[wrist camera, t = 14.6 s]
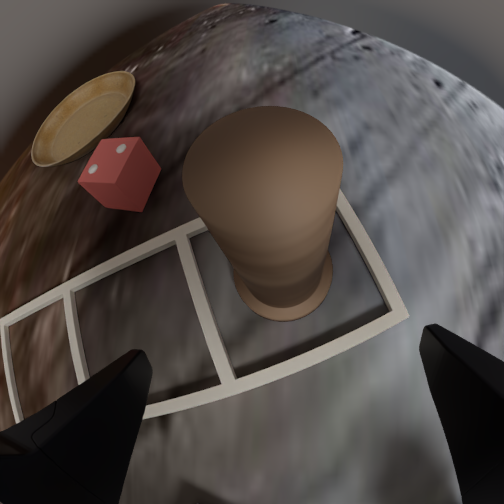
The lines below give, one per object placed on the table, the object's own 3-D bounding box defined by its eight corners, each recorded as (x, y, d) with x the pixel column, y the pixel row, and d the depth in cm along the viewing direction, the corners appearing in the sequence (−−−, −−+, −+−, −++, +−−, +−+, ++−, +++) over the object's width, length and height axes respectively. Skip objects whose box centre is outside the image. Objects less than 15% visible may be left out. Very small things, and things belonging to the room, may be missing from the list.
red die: (161, 168, 22) (139, 135, 18) (142, 212, 21) (114, 182, 17) (124, 167, 23) (100, 138, 19) (105, 207, 22) (76, 181, 18)
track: (325, 171, 19) (325, 166, 19) (406, 318, 15) (409, 316, 14) (4, 320, 20) (-1, 319, 19) (23, 433, 15) (19, 433, 15)
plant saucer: (134, 71, 30) (126, 57, 28) (155, 125, 25) (144, 106, 22) (47, 130, 30) (37, 119, 28) (41, 203, 24) (26, 191, 22)
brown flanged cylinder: (349, 287, 16) (407, 182, 7) (267, 339, 16) (215, 302, 6) (297, 216, 18) (287, 76, 9) (221, 261, 18) (140, 150, 8)
